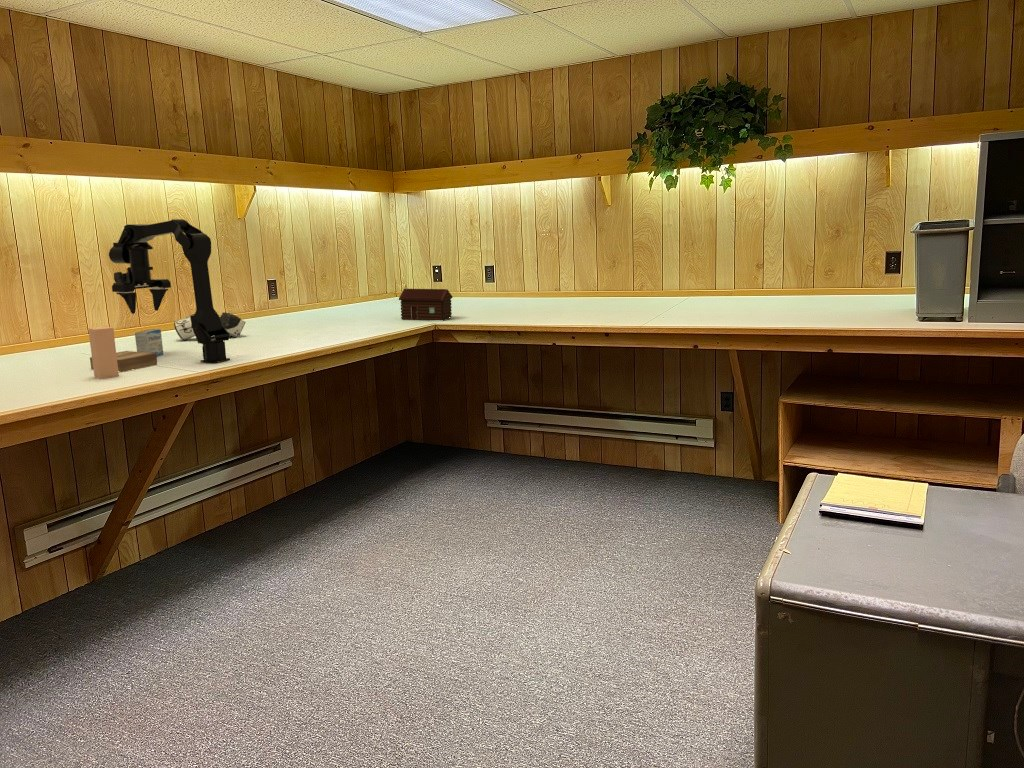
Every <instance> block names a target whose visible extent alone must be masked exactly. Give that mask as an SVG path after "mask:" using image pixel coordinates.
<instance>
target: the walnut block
mask: <svg viewBox="0 0 1024 768" xmlns="http://www.w3.org/2000/svg"><path fill="white" fill-rule="evenodd" d="M116 355H117V364H118V371H121V372H120V373H124V372H127V371H128V370H129V371H133V370H132V369H134V370H139V369H142V368H143V369H144V368H147V367H152V366H156V365H158V360H157V359H158V356H156V353H147V352H137V351H133V350H131V351H129V350H124V351H118V352H116ZM89 363H90V369H91V370H93V362H92V356H90V357H89ZM123 371H124V372H123ZM129 371H128V372H129Z"/></svg>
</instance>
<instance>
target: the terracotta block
mask: <svg viewBox="0 0 1024 768" xmlns="http://www.w3.org/2000/svg"><path fill="white" fill-rule="evenodd" d="M87 329H88V335H89V337H88V338H89V343H90V344H89V345H90V354H91V357H92V362H93V369H92V370H93V377H94V376H95V378H97V377H98V379H100V378H102V379H107V378H106V377H109V378H115V377H114V376H116V377H119V376H120V374H119V373H120V372H118V364H117V355H116V353H117V348H116V340H115V331H114V327H111V326H98V327H97V326H96V327H89V328H87Z"/></svg>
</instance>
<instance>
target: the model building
mask: <svg viewBox="0 0 1024 768" xmlns="http://www.w3.org/2000/svg"><path fill="white" fill-rule="evenodd" d="M452 299H453V295H452V294H451V292H450V290H448V289H447V288H407V284H406V285H405V287H404V288H403V290H402V292H401V293H400V295H399V296H398V301H400V316H401V317H400V319H401V320H403V321H407V320H409V321H430V320H443V321H446V320H445V319H447V318H449V317H452V314H453V313H452ZM452 318H453V317H452ZM447 320H448V319H447Z"/></svg>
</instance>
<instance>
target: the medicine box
mask: <svg viewBox="0 0 1024 768" xmlns="http://www.w3.org/2000/svg"><path fill="white" fill-rule="evenodd" d="M134 339H135V347H136V352H147V353H156V357H159V356H162V355H164V346H163V338H162V329H160V328H151V329H146V330H142V331H137V332H134Z"/></svg>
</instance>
